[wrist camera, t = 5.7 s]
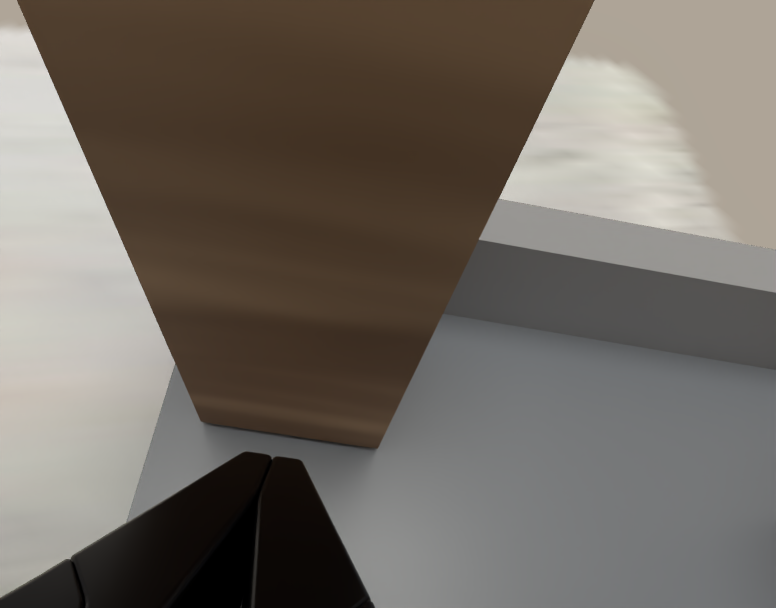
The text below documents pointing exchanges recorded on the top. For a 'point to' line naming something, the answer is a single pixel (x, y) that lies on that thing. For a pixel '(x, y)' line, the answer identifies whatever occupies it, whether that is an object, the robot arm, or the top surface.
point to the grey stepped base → (556, 430)
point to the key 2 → (301, 179)
